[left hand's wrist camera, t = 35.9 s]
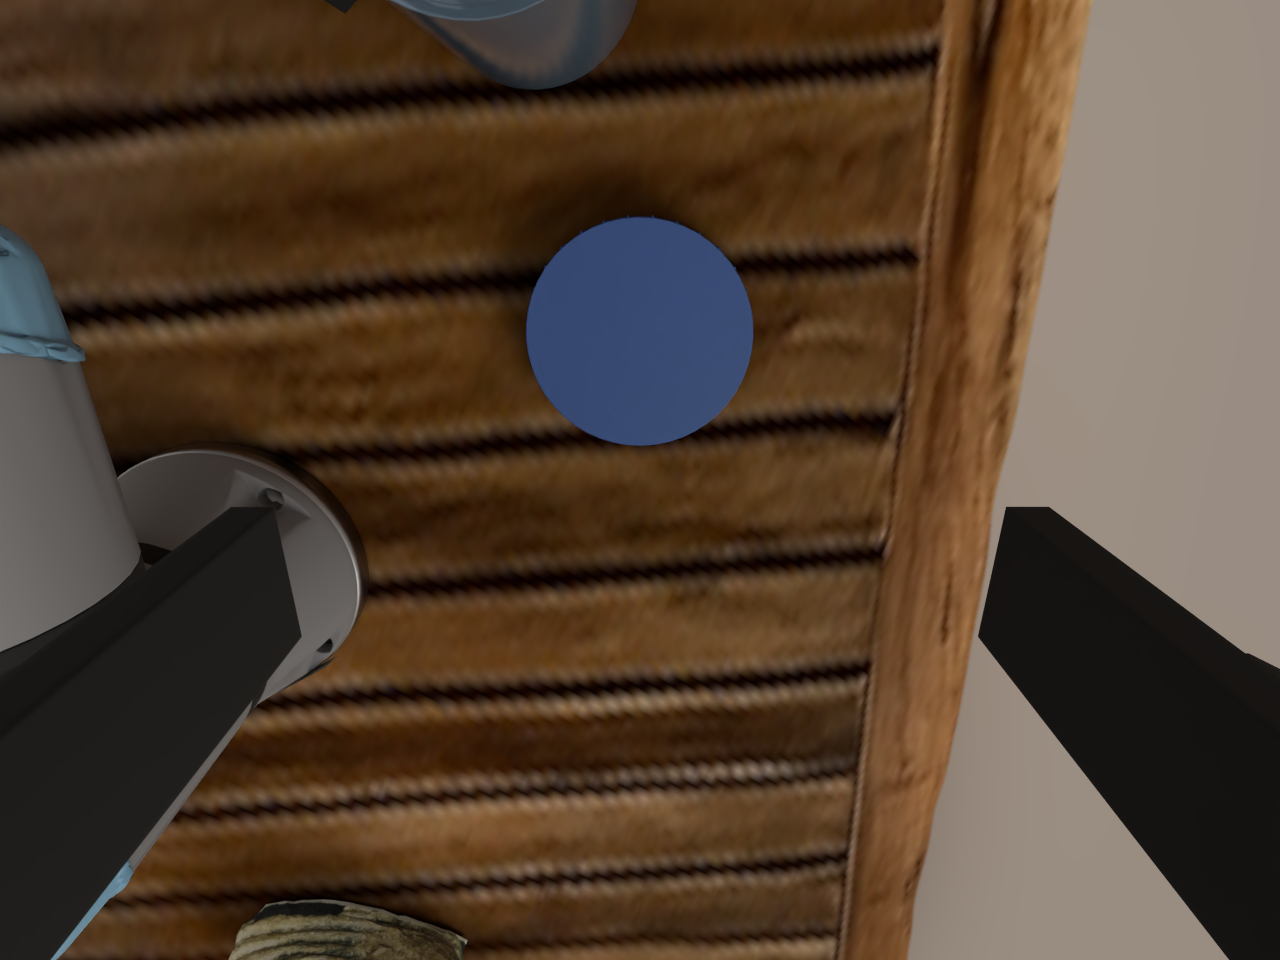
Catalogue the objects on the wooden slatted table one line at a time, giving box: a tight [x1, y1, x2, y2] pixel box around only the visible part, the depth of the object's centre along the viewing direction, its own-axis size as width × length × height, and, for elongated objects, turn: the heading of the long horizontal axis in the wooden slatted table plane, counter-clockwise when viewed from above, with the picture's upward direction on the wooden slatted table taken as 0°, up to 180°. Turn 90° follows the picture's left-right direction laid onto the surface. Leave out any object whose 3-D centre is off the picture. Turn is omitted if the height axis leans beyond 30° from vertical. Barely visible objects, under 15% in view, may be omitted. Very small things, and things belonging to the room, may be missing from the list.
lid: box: [526, 215, 753, 446], centre depth 36 cm, size 11×12×2 cm
